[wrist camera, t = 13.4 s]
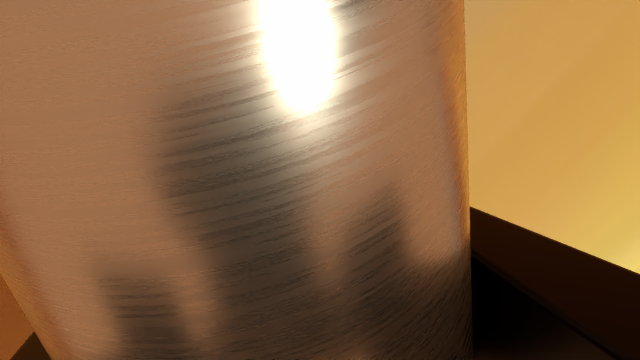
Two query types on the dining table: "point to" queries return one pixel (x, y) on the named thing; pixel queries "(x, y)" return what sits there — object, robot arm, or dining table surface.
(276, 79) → the brown rounded bar
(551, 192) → the dining table surface
